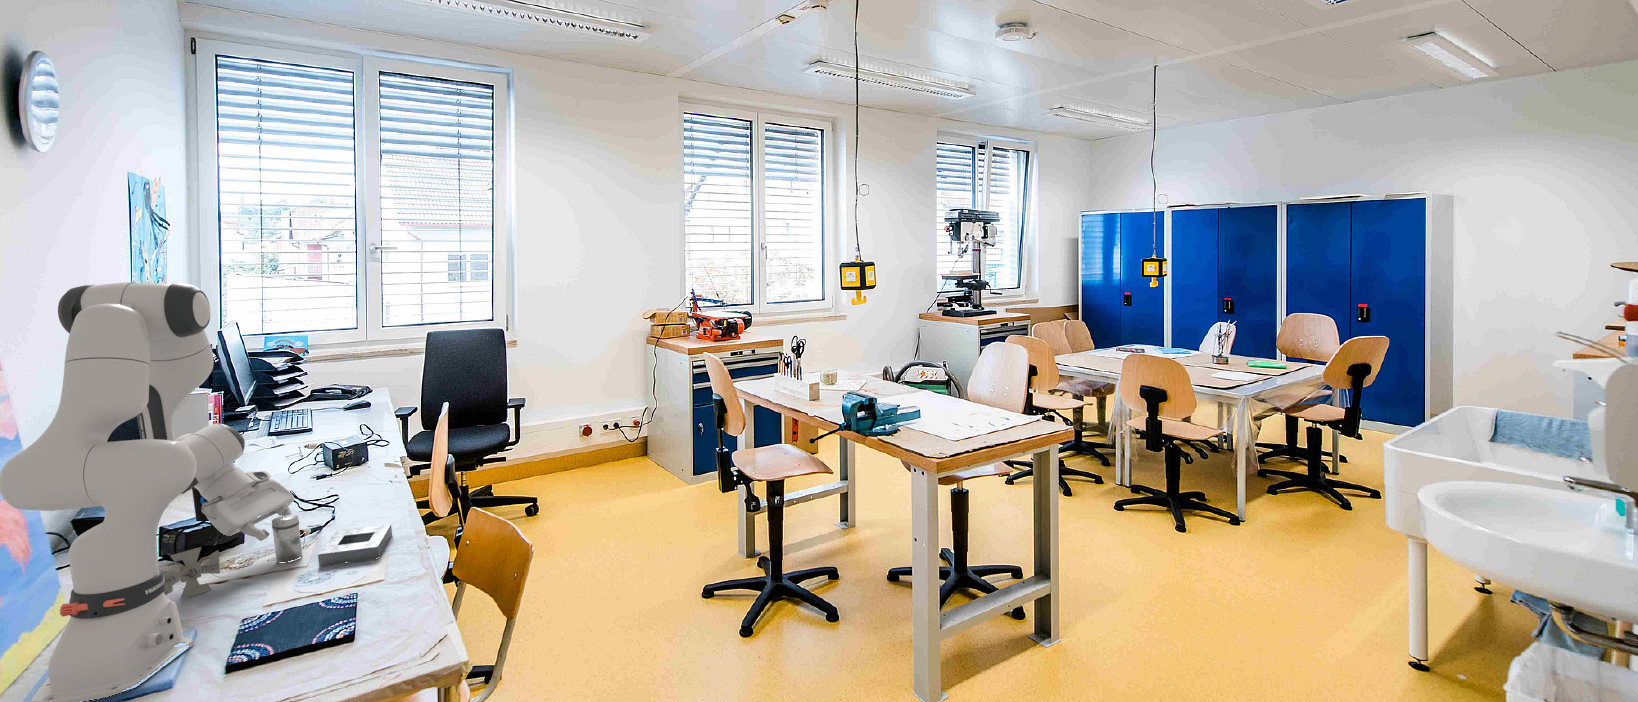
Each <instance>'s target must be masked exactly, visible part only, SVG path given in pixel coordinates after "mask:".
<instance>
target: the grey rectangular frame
mask: <svg viewBox="0 0 1638 702" xmlns="http://www.w3.org/2000/svg"><path fill="white" fill-rule="evenodd" d="M392 536H393V527H392V524H391V523H390V524H389V523H388V524H381V525H372V526H365V527H354V528H348V529H347V528H346V529H339V530H336V531H335V532H334V533H333V534H332V536H331V537H330V539H329V540H328V541H327V542H326V543H325V545H324V546H323V547H322V549H321V550H320V551H319V553H317V557H318V567H319V566H322V567H328V566H327V565H330V566H335V564H337V565H341V564H340V563H345V562H352V563H358V562H365V561H373V560H372V559H374V560H377V559H376V558H378V557H380V558H381V556H382V554H383V553H384V550H385V548H386V547H387V545H388V543H389V542H390V540H391V538H392ZM380 555H381V556H380ZM345 564H346V563H345Z"/></svg>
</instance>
